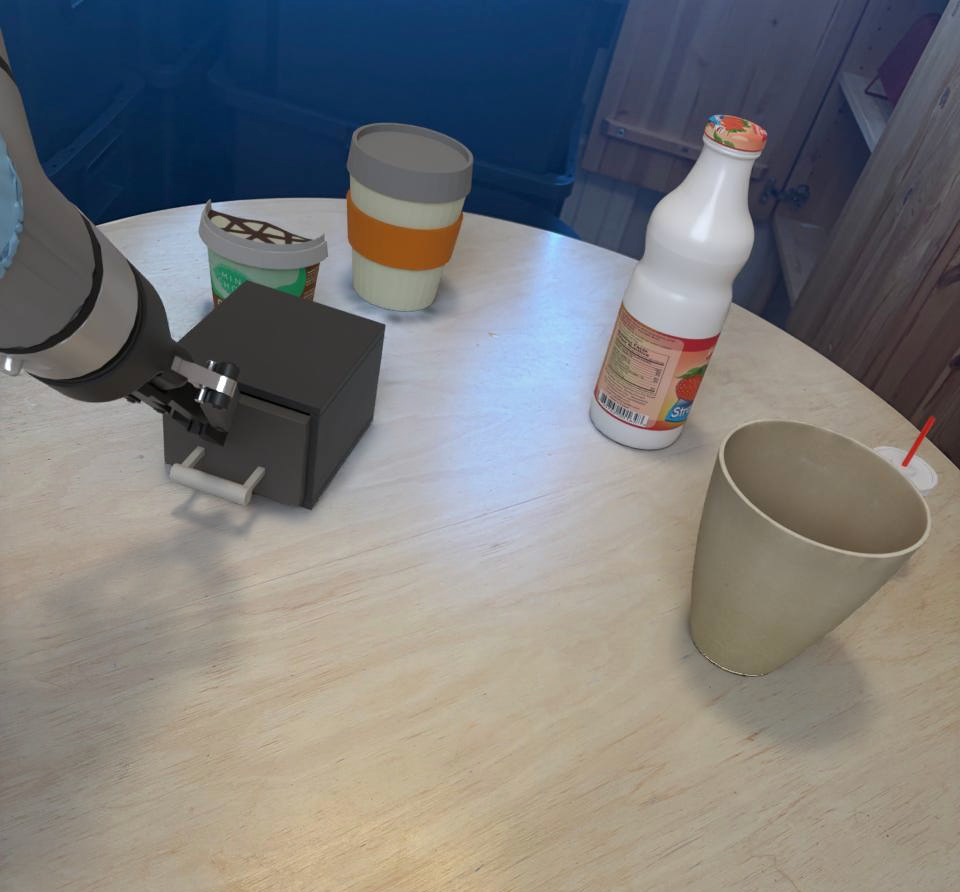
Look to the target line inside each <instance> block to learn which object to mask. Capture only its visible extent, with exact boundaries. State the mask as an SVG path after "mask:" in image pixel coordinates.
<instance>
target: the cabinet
mask: <svg viewBox="0 0 960 892" xmlns="http://www.w3.org/2000/svg"><path fill="white" fill-rule="evenodd" d="M386 327H387V324H385V323H382V322H380V321H376V320H374V319H370V318H367V317H365V316H361V315H357V314H354V313H352V312H348V311H345V310H342V309H340V308H336V307H332V306H329V305H326V304H324V303H320V302H317V301H314V300H313V301H311V300H308V299H305V298H302V297H298V296H295V295H292V294H289V293H286V292H283V291H280V290H277V289H273V288H270V287H267V286H264V285H261V284H258V283H255V282H252V281H248V280H245V281H244V282H243V283H242V284H241V285H240V286H239V287H238V288H237V289H235V290H234V291H233V292H232V293H231V294H230V295H229V296H228V297H227V298H226V299H224V300H223V301H222V302H221V303H220V304H219V305H218V306H217V307H216V308H214V307H213V309H212V310H211V311H210V312H209V313H207V314H206V316H204V317H203V318H202V319H201V320H200V321H199V322H198V323H196V325H194V326H193V327H192V328H191V329H190V330H189V331H188V332H186V333H185V334H184V335H183V336H182V337H181V338H180V339H179V340H178V341H177V342H178V343H180V344H181V345H183V346H185V347H186V348H188V349H189V350H190V351H191V352H192V354H193V357H194V363H195V364H197V365H199V366H202V367H204V368H205V367H206V364H207V361H208V360H211V361H214V362H216V363H219V362H226V363H227V362H231V363H234V364H235V365H236V367H238V368H240V369H241V373H240V376H239V379H238V382H237V386H238V389H239V391H241V392H244V393H247V394H250V395H253V396H257V397H260V398H263V399H266V400H269V401H272V402H275V403H278V404H281V405H284V406H287V407H290V408H293V409H296V410H299V411H302V412H305V413H308V414H310V416H311V426H310V438H309V450H308V463H307V475H306V487H305V499H304V501H303V502H302V504H301V505H300V506H299V508H303V509H306V510H308V511H312V510H313V509H314V506H315V505H316V504H317V502H318V501H319V499H320V498H321V497H322V495H323V494H324V492H325V491H326V489H327V488H328V486H329V485H330V484H331V482H332V481H333V479H334V478H335V477H336V475H337V473H338V472H339V471H340V469H341V468H342V466H343V465H344V464H345V462H346V460H347V459H348V457H349V456H350V455H351V454H352V452H353V451H354V449H355V447H356V446H357V445H358V443H359V442H360V440H361V439H362V437H364V435H365V433H366V431H368V429H369V427H370V426H371V424H372V423H373V421H374V417H375V409H376V402H377V393H378V386H379V378H380V373H381V365H382V364H381V363H382V358H383V357H382V356H383V350H384V349H383V348H384V342H385V335H386V334H385V333H386Z"/></svg>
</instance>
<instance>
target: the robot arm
mask: <svg viewBox="0 0 960 892" xmlns="http://www.w3.org/2000/svg"><path fill="white" fill-rule="evenodd" d="M8 56H9V55H8V52H7V48H6V44H5V40H4V37H3V31H2V29H1V27H0V373H3V374H5V375H7V376H8V377H18V376H20V374H21V371H24V372H25V373H26V374H28V375H29V376H30V377H32V378H34V379H35V380H37V381H39V382H41V383H42V384H44V385H46V386H48V387H49V388H51V389H53V390H54V391H56V392H58V393H59V394H62V395H63V396H65V397H67V398H69V399H72V400H75V401H80V402H84V403H91V404H92V403H93V404H95V403H96V404H99V403H107V402H113V401H117V400H121V399H125V400H126V402H128V403H130V404H141V403H142V402H143V403H144V404H146V405H147V406H149V407H150V408H151V409H152V410H153V411H155V413H159V414H161V415H163V414H170V412H171V413H172V414H173V415H172V419H174V420H175V421H177V422H178V423H180V424H181V425H183V426H184V427H185V428H186V431H187V432H189V433H192V434H194V435H197V436H198V437H200V438H201V439H203V440H204V441H207V442H210V443H213V444H217V445H220V446H224V443H225V440H226V437H227V434H228V432H229V431H230V428H231V425H232V422H233V419H234V416H235V413H236V410H237V407H238V404H239V401H240V398H241V395H240V392H239V389H238V386H237V382H238V379H239V376H240V373H241V369H240V368H238V367H236V365H235V364H234V363H231V362H227V363H226V362H219V363H216V362H214V361H211V360H208V361H207V364H206V367H205V368H204V367H202V366H199V365H197V364H195V363H194V357H193V354H192V352H191V351H190V350H189V349H188V348H186V347H185V346H183V345H181V344H180V343H178V341H177V340H175V339H173V338H172V335H171V329H170V325H169V319H168V315H167V310H166V308H165V305H164V302H163V300H162V298H161V296H160V295H159V293H158V291H157V289H156V288H155V286H154V285H153V284H152V283H151V282H150V281H149V279H147V278H146V277H145V276H144V274H143V273H141V271H140V270H139V269H138V268H137V267H136V266H135V265H134V264H133V263H132V262H131V261H130V260H129V259H128V257H127V258H126V256H125V255H124V254H123V253H122V252H121V251H120V250H119V249H118V248H117V246H116V245H114V244H113V243H112V242H111V240H110V239H109V238H108V237H107V236H106V235H105V234H104V233H103V232H102V230H100V228H98V227H97V226H96V225H95V224H94V223H93V222H92V221H91V220H90V219H89V218H88V217H87V216H86V215H85V213H83V212H82V211H81V209H79V207H78V206H77V205H76V204H73V202H71V201H69V200H68V199H67V197H66V196H65V195H64V194H63V193H62V192H61V191H60V190H59V188H57V187H56V186H55V184H54V183H53V182H52V181H51V180H50V179H49V178H48V176H47V175H46V173H45V171H44V169H43V167H42V165H41V162H40V160H39V158H38V154H37V151H36V146H35V143H34V140H33V136H32V132H31V129H30V126H29V125H30V124H29V122H28V118H27V113H26V110H25V106H24V103H23V98H22V96H21V92H20V90H19V88H18V86H17V83H16V80H15V79H16V78H15V77H14V74H13V72H12V67H11V64H10V60H9V57H8Z"/></svg>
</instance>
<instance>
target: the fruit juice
mask: <svg viewBox="0 0 960 892" xmlns="http://www.w3.org/2000/svg"><path fill="white" fill-rule="evenodd" d="M767 139H768V133H767V131H766V130H765V129H764V128H763V127H762V126H760V125H759V124H757V123H754V122H753V121H750V120H747V119H744V118H742V117H738V116H733V115H728V114H715V115H714V114H713V115H711V116H710V117H709V119H708V120H707V122H706V125H705V127H704V130H703V135H702V142H703V147H702V149H701V152H700V154H699V156H698V158H697V160H696V162H695V163H694V165H693V166H692V168H691V169H690V171H689V173H688V174H687V175H686V177H685V178H684V179H683V181H682V182H681V183H680V184H679V185H678V186H677V187H675V189H673V190H672V191H670V192H669V193H668V194H666V195H665V196H664V197H663V198H662V199H661V200H660V201H659V202H658V203H657V204H656V205H655V207H654V208H653V210H652V211H651V212H652V213H651V214H650V217H649V219H648V222H647V225H646V231H645V241H644V243H645V244H644V246H645V247H644V253H643V256H642V257H641V259H640V260H639V261H638V262H636V265H635V266H634V268H633V269H632V272H631V274H630V277H629V279H628V281H627V285H626V287H625V290H624V292H623V296H622V300H621V303H620V307H619V309H618V313H617V316H616V318H615V319H616V320H615V322H614V326H613V329H612V331H611V335H610V338H609V341H608V345H607V348H606V350H605V354H604V357H603V361H602V364H601V367H600V371H599V374H598V377H597V380H596V384H595V387H594V390H593V393H592V396H591V400H590V405H589V414H590V419H591V421H592V423H593V425H594V426H595V427H596V428H597V429H598V430H599V432H601V433H602V434H603V435H604V436H606V437H607V438H609V439H611V440H612V441H614V442H617V443H619V444H621V445H623V446H626V447H630V448H634V449H639V450H651V451H652V450H660V449H661V450H662V449H664V448H667V447H669V446H671V445H672V444H674V443H675V442H676V441H677V440H678V439H679V437H680V435H681V433H682V431H683V430H684V428H685V425H686V423H687V420H688V417H689V414H690V412H691V409H692V407H693V405H694V401H695V398H696V397H697V395H698V391H699V389H700V386H701V385H702V382H703V379H704V378H705V377H704V376H705V374H706V372H707V368H708V366H709V363H710V361H711V359H712V356H713V354H714V352H715V348H716V346H717V344H718V341H719V338H720V336H721V334H722V331H723V329H724V327H725V324H726V321H727V319H728V315H729V312H730V310H731V305H732V303H733V302H732V301H733V284H734V282H735V280H736V278H737V276H738V275H739V274H740V272H741V271H742V269H743V268H744V267H745V266H746V264H747V262H748V260H749V259H750V256H751V253H752V250H753V246H754V243H755V227H754V223H753V219H752V215H751V214H750V213H751V212H750V210H749V199H748V198H749V189H750V179H751V173H752V170H753V166H754V163H755V161H756V160H757V159H758V158H759V157H760V156H761V155H762V152H763V150H764V149H765V146H766V142H767Z"/></svg>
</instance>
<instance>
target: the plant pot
mask: <svg viewBox="0 0 960 892" xmlns="http://www.w3.org/2000/svg"><path fill="white" fill-rule="evenodd" d="M932 525H933V519H932V514H931V510H930V507H929V505H928V502H927V500H926V498H925V496H924V497H923V495H922V494H921V492H920V491H919V489H918V488H917V487H916V485H915V484H914V483H913V482H912V481H911V480H910V479H909V478H908V476H907V475H906V474H905V473H903V472H902V471H901V470H900V469H899V468H898V467H897V466H895V465H894V464H893V463H892V462H890V461H889V460H888V459H886V458H885V457H883V456H882V455H881V454H879V453H878V452H876V451H874V450H873V448H871V447H869V446H868V445H866V444H864V443H862V442H861V441H859V440H857V439H855V438H852V437H851V436H848V435H846V434H844V433H841V432H840V431H837V430H834V429H832V428H829V427H826V426H823V425H820V424H816V423H812V422H808V421H804V420H798V419H791V418H789V419H788V418H782V417H781V418H778V417H777V418H776V417H775V418H773V417H770V418H768V417H767V418H758V419H752V420H748V421H746V422H742V423H740V424H739V425H735V426H734V427H733V428H731V429H730V430H728V432H727V433H726V434H725V435H724V436H723V438H722V440H721V442H720V444H719V448H718V450H717V455H716V458H715V462H714V465H713V468H712V472H711V476H710V480H709V483H708V487H707V491H706V495H705V499H704V502H703V507H702V511H701V517H700V520H699V527H698V531H697V538H696V545H695V549H694V550H695V551H694V558H693V566H692V574H691V590H690V592H691V593H690V617H689V618H690V636H691V635H692V636H691V638H693V639H692V641H693V640H694V642H695V644H696V645H697V647H698V648H699V650H701V651H702V653H703V654H705V656H707V657H708V658H709V659H710V660H712V661H713V662H715V663H717V664H718V665H720V666H721V667H724V668H726V669H728V670H731V671H734V672H738V673H742V674H747V675H761V674H766V673H768V674H770V673H772V672H774V671H775V670H777V669H779V668H780V667H782V666H783V665H785V664H787V663H788V662H790V661H792V660H793V659H795V658H796V657H797V656H799V655H800V654H802V653H803V652H806V651H807V650H808V649H809V648H811V647H812V646H814V645H815V644H816V643H818V642H819V641H820V640H822V639H823V638H825V637H826V636H827V635H828V634H830V633H831V632H832V631H834V630H835V629H836V628H837V627H839V626H840V625H841V624H842V623H844V622H845V621H846V620H847V619H848V618H849V617H851V616H852V615H853V614H854V613H856V611H857V610H859V609H860V608H862V606H864V605H865V603H867V602H868V601H869V600H870V599H871V598H872V597H873V596H874V595H875V594H877V592H879V591H880V590H881V588H883V586H885V585H886V584H887V583H888V582H889V580H891V579H892V577H894V575H895V574H896V573H897V572H898V571H900V570H901V568H902V567H903V566H904V565H905V564H906V563H907V562H908V561H909V560H910V559H911V558H912V557H913V556H914V555H915V553H916V552H917V551H919V550H920V548H921V547H922V546H923V545H924V544H925V542H926V541H927V540H928V538H929V536H930V535H931V532H932ZM694 642H693V643H694ZM695 644H694V645H695ZM696 645H695V646H696ZM697 647H696V648H697ZM698 648H697V649H698ZM699 650H698V651H699ZM769 672H770V673H769ZM766 675H767V674H766Z"/></svg>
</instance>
